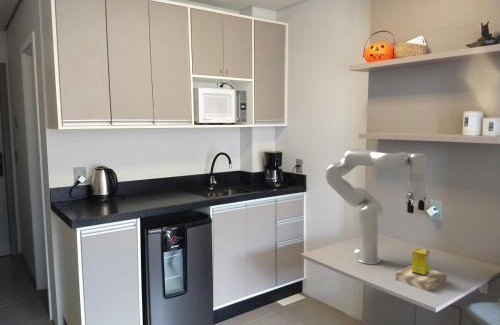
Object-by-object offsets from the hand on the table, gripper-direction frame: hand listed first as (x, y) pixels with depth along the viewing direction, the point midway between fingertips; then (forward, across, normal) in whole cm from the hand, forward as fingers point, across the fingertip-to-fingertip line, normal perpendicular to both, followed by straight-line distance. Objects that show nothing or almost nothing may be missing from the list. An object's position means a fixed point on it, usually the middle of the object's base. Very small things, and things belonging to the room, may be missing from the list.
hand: (415, 211), depth 192 cm
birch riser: (+30, +11, +10) cm, 34 cm away
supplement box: (+26, +11, +10) cm, 30 cm away
